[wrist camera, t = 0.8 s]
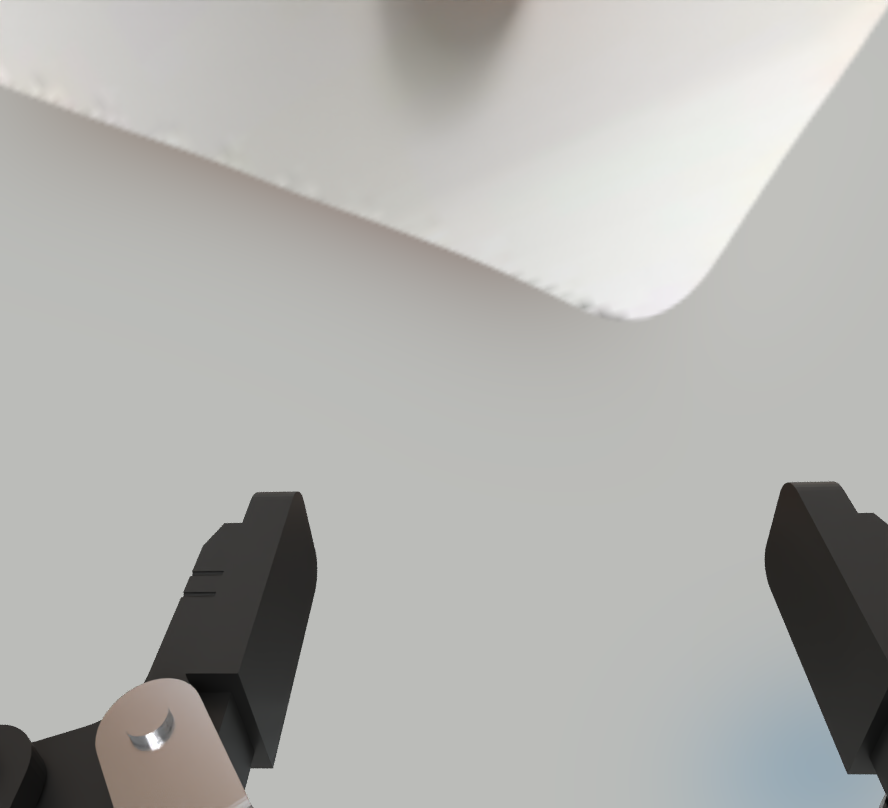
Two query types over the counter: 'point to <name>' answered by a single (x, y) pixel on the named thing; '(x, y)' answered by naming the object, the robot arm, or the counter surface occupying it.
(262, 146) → the counter surface
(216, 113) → the counter surface
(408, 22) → the counter surface
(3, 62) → the counter surface
